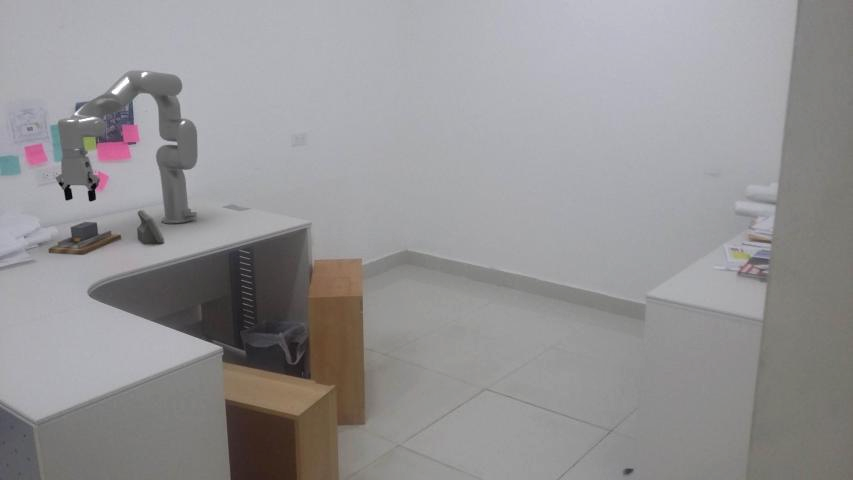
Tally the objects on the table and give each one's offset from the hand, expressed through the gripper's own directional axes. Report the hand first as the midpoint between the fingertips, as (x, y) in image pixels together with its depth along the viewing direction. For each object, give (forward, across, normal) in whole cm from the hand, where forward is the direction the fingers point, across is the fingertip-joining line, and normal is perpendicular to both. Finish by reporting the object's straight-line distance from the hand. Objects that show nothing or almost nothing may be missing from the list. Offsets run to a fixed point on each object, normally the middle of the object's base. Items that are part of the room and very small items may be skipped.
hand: (80, 200), depth 266 cm
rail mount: (+17, 0, 0) cm, 17 cm away
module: (+15, 0, 0) cm, 15 cm away
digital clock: (+18, -20, -11) cm, 29 cm away
